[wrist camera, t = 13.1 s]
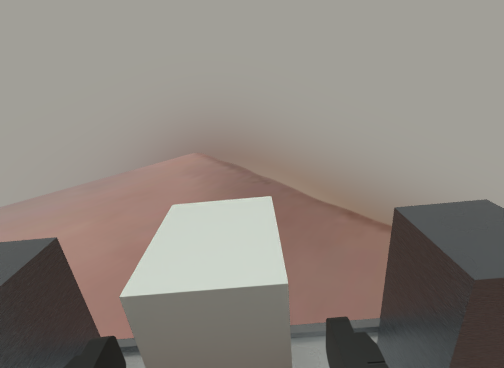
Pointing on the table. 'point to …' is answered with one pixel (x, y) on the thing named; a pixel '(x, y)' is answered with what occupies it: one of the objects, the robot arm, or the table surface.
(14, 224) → the table surface
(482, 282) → the rail
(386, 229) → the table surface
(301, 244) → the table surface
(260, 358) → the block
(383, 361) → the robot arm
